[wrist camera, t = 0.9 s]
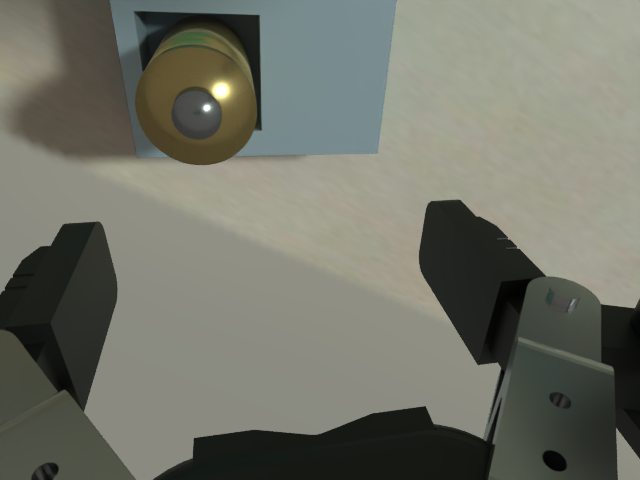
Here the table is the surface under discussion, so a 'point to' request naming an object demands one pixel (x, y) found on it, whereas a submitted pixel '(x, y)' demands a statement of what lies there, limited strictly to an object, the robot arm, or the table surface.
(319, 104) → the housing
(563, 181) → the table surface
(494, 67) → the table surface
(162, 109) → the gold battery
